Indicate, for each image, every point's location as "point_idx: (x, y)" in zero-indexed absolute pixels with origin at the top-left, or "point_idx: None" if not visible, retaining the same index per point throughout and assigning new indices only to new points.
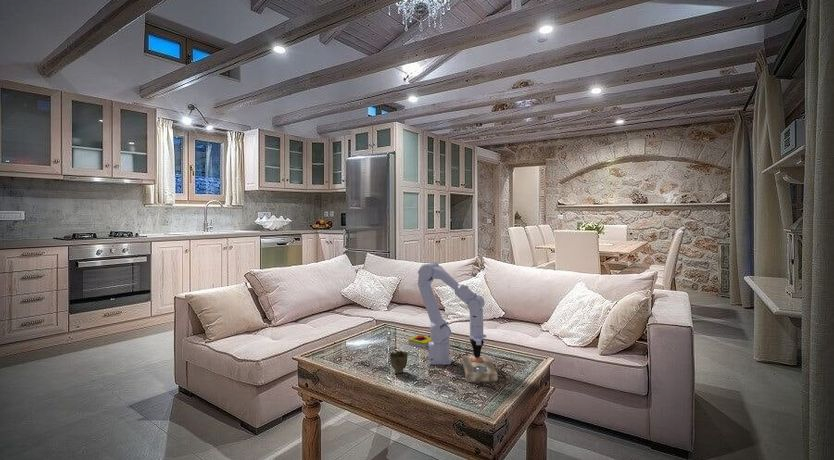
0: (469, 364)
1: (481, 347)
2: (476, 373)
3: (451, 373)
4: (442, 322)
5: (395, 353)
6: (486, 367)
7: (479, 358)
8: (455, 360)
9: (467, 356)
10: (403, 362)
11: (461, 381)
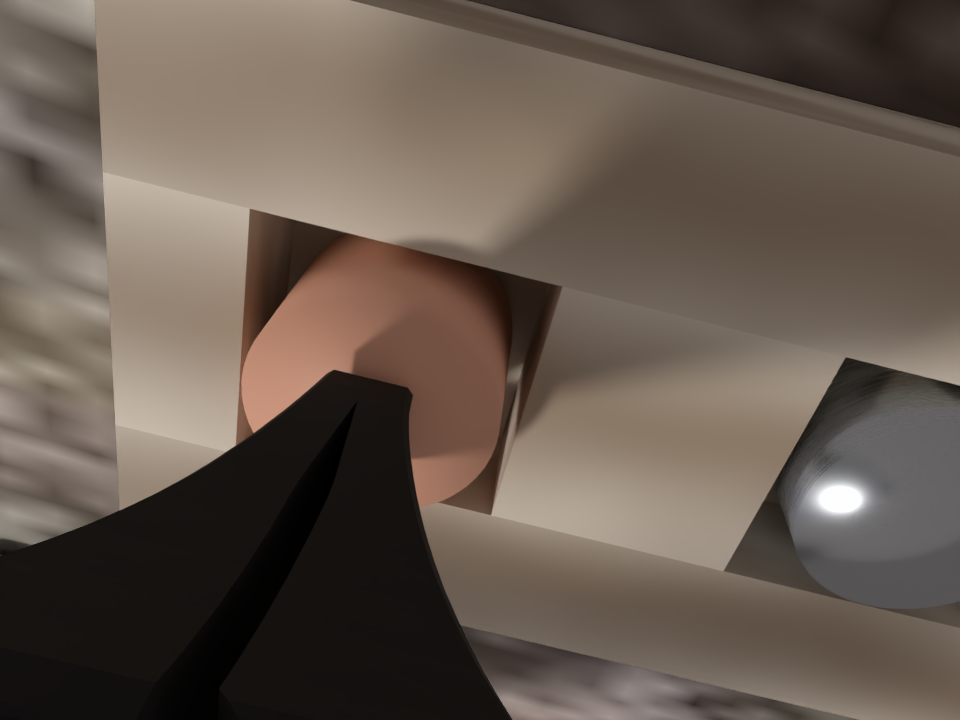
0: (590, 583)
1: (441, 593)
2: None
3: (563, 686)
4: None
5: None
6: (909, 364)
7: (439, 383)
8: (68, 505)
9: (141, 470)
10: None
11: None
